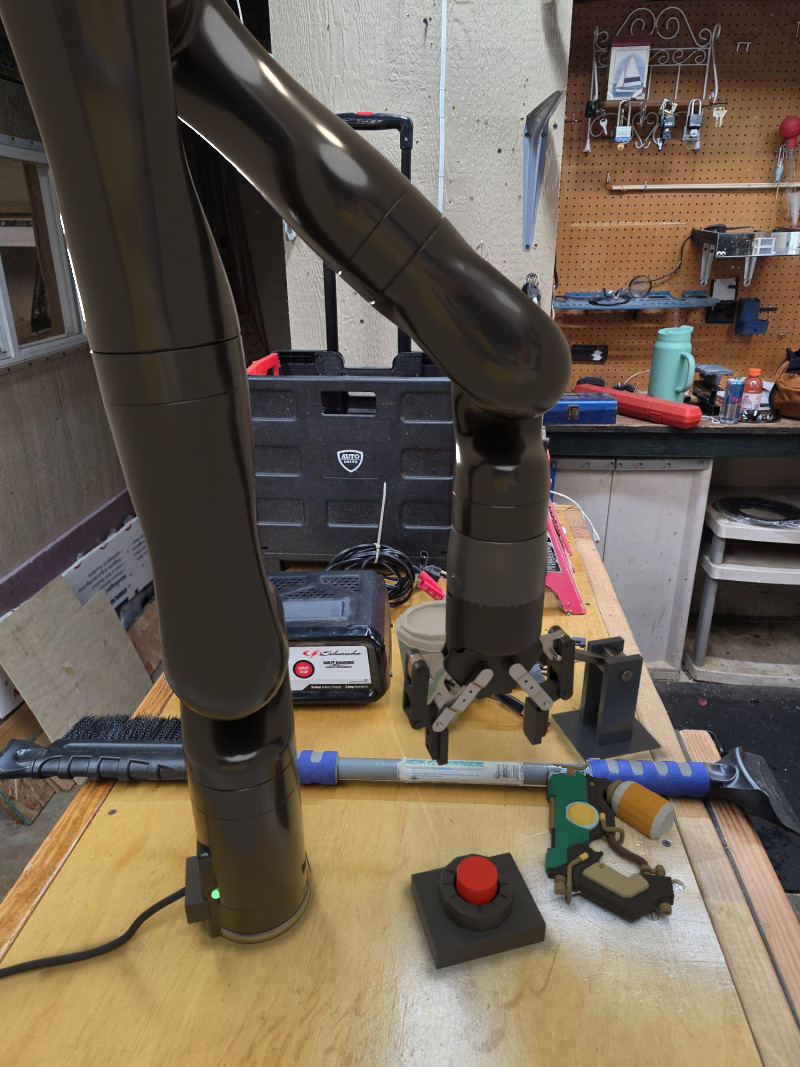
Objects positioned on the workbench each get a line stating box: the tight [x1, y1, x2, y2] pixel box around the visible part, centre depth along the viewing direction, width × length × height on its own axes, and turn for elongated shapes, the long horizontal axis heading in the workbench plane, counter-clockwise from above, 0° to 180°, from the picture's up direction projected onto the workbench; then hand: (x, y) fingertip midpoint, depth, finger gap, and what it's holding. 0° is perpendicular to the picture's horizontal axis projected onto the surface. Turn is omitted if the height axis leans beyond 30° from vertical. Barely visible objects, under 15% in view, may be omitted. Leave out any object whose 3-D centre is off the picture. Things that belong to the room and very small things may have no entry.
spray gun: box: [545, 763, 676, 923], centre depth 69 cm, size 4×17×15 cm
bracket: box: [550, 635, 662, 764], centre depth 83 cm, size 10×9×13 cm
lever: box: [537, 647, 628, 673], centre depth 79 cm, size 13×6×2 cm, turn 105°
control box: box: [410, 851, 547, 970], centre depth 62 cm, size 10×8×4 cm
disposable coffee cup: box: [394, 599, 462, 724], centre depth 87 cm, size 11×11×15 cm
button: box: [457, 856, 498, 904], centre depth 61 cm, size 4×4×2 cm
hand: (486, 748), depth 59 cm, fingers open, 8 cm apart
